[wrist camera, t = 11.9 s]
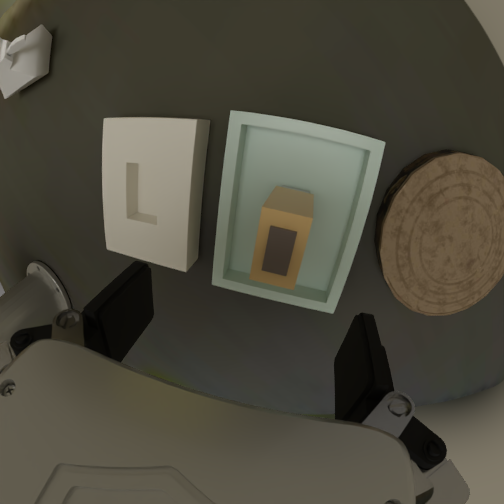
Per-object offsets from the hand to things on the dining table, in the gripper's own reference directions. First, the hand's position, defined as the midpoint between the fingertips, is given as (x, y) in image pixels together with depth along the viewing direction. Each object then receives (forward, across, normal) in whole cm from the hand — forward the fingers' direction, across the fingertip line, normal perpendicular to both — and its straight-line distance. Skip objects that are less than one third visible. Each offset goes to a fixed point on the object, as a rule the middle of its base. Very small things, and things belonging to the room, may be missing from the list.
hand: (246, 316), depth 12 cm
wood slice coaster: (+14, -17, -3) cm, 22 cm away
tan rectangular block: (+14, -1, -1) cm, 14 cm away
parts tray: (+14, -1, -1) cm, 15 cm away
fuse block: (+15, +12, -1) cm, 19 cm away
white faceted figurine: (+16, +36, -18) cm, 43 cm away
